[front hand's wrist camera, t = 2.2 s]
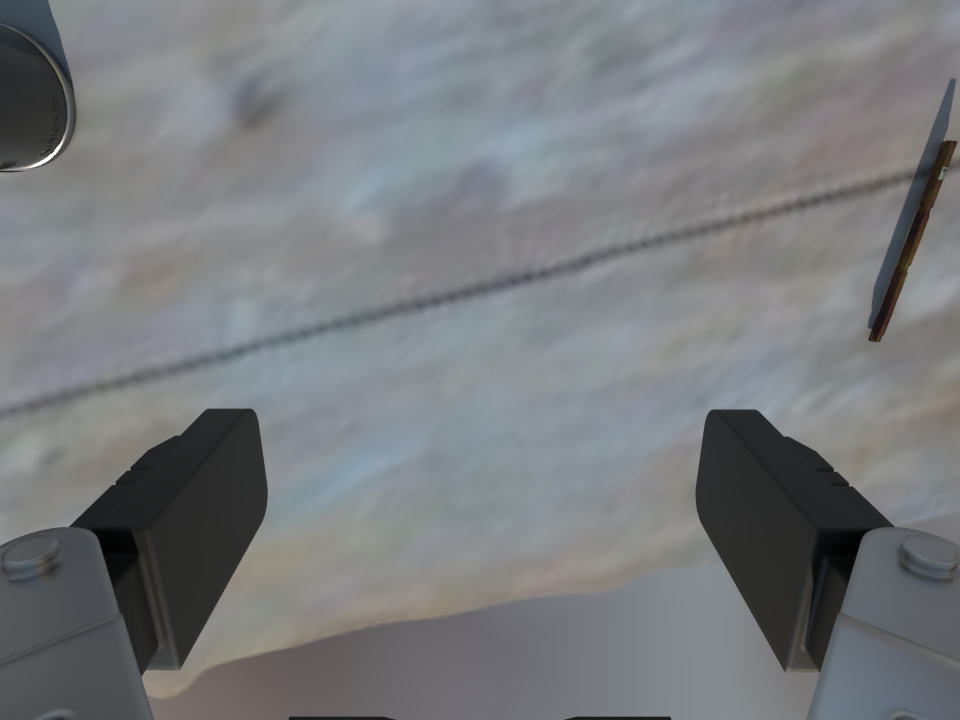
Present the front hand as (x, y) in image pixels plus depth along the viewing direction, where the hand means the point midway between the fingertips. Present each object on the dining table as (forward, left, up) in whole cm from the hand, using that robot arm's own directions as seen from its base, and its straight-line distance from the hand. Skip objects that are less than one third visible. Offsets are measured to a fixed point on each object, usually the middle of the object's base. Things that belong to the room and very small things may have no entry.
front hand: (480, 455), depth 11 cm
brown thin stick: (+30, +12, -37) cm, 49 cm away
